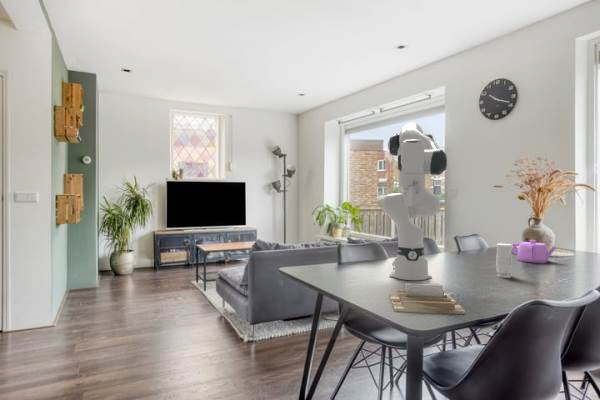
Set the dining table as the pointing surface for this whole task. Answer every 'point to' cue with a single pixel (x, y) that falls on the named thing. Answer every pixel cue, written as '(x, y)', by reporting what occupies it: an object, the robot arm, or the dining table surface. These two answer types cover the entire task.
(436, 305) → the rack
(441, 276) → the dining table surface
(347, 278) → the dining table surface
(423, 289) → the blanking panel
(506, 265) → the candle
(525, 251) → the teakettle
